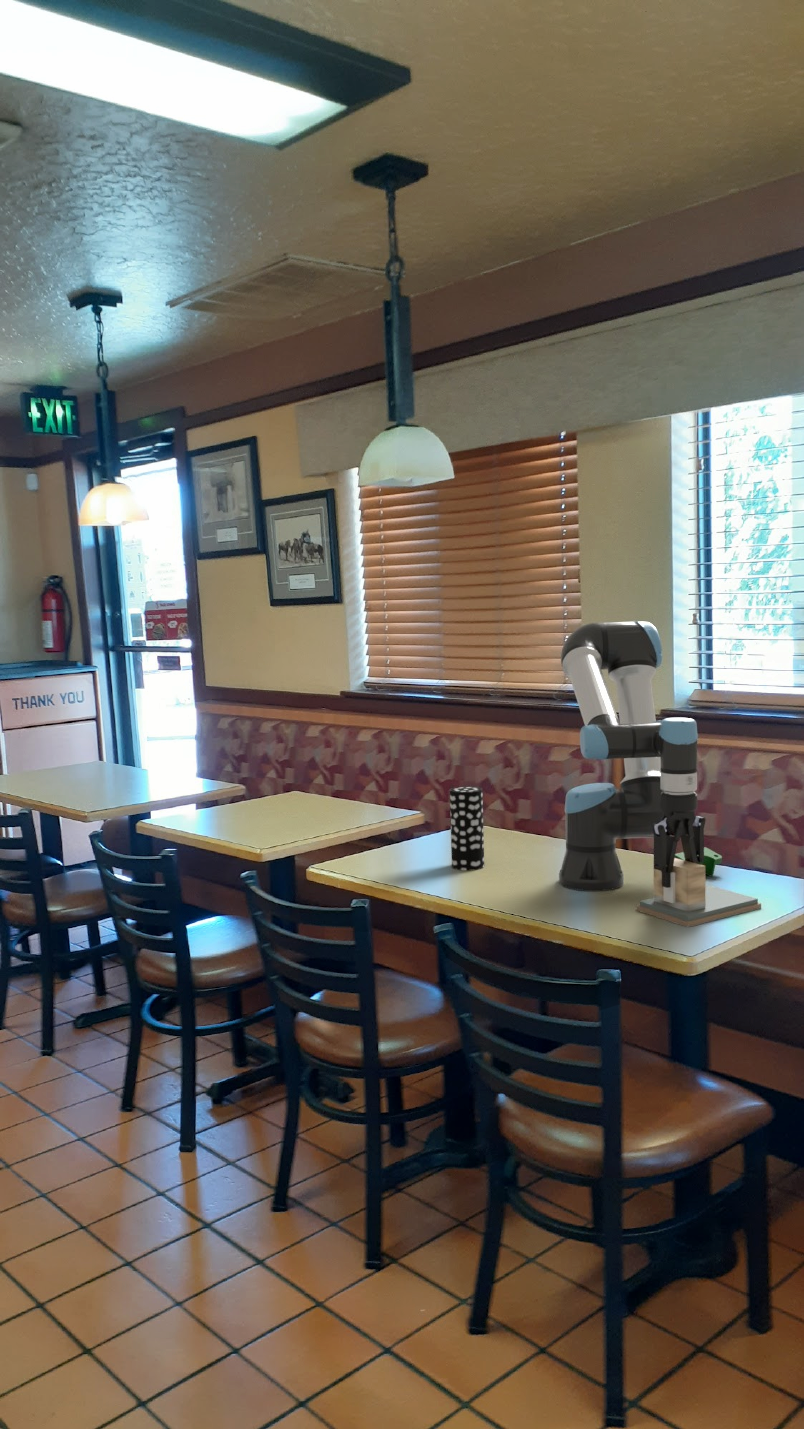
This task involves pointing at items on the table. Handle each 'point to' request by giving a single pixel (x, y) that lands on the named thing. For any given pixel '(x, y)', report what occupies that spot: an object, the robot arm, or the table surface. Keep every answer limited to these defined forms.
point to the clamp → (706, 860)
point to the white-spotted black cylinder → (467, 828)
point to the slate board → (716, 908)
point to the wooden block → (683, 886)
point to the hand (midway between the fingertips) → (679, 899)
